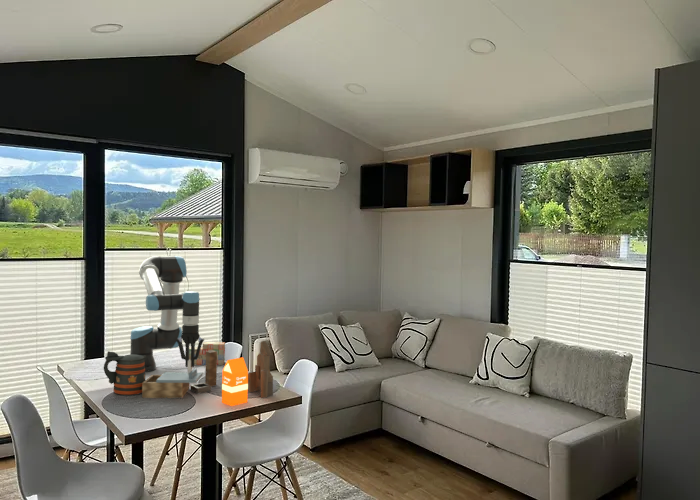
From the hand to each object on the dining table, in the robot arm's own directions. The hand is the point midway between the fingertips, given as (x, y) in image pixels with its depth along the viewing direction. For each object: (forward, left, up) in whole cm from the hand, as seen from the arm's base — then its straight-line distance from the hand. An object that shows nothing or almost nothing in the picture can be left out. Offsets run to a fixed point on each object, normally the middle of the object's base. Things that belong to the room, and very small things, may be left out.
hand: (189, 373), depth 254 cm
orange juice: (+23, -13, -10) cm, 28 cm away
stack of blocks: (-5, +60, -10) cm, 61 cm away
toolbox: (-11, 0, -10) cm, 14 cm away
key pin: (+7, +15, -10) cm, 19 cm away
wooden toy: (+33, +1, -10) cm, 35 cm away
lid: (-5, 0, -2) cm, 5 cm away
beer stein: (-31, +2, -10) cm, 32 cm away
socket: (+4, +5, -10) cm, 12 cm away
